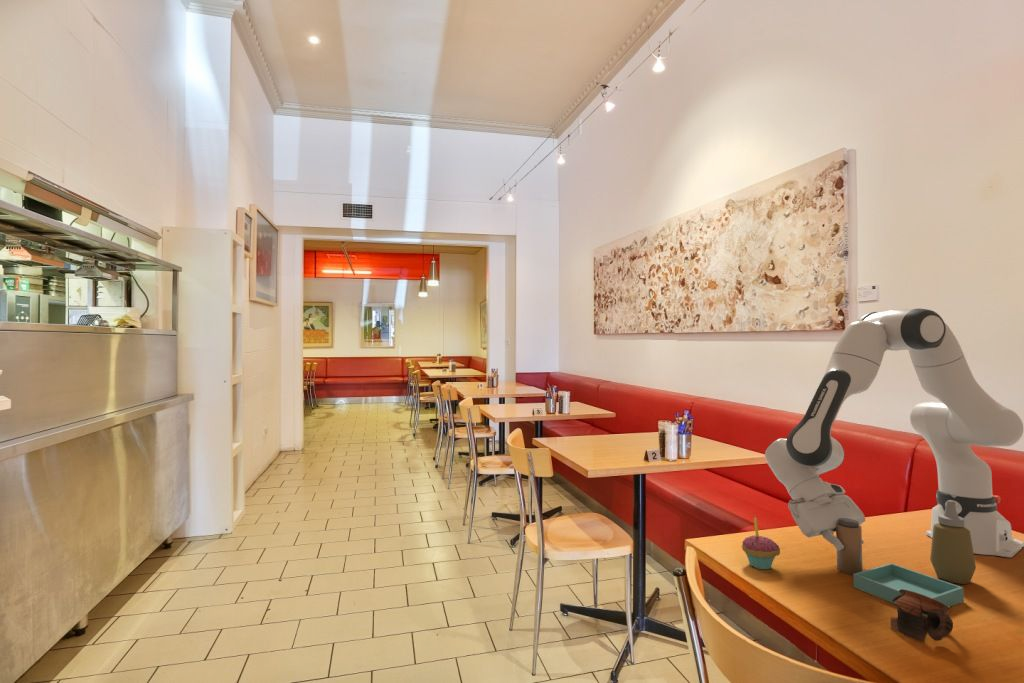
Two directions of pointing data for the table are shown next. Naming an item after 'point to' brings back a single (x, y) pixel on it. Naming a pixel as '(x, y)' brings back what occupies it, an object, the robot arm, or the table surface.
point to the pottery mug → (921, 616)
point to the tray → (906, 584)
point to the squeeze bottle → (952, 548)
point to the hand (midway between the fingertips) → (851, 547)
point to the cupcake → (760, 550)
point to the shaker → (849, 546)
